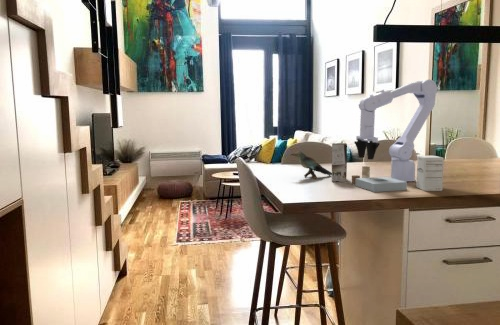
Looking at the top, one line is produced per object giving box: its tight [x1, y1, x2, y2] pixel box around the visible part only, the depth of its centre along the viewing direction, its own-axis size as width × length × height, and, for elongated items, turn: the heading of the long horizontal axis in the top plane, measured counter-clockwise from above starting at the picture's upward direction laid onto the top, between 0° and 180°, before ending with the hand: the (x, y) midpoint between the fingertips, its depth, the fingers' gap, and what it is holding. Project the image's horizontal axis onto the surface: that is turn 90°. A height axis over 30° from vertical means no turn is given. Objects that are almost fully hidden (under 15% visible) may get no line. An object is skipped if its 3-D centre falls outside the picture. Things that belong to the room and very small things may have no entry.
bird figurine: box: [290, 150, 332, 180], centre depth 192 cm, size 13×10×20 cm
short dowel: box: [351, 174, 361, 185], centre depth 173 cm, size 3×3×4 cm
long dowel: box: [361, 165, 371, 178], centre depth 179 cm, size 3×3×6 cm
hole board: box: [354, 176, 408, 193], centre depth 164 cm, size 14×14×3 cm
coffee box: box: [331, 142, 348, 183], centre depth 183 cm, size 9×6×16 cm
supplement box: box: [415, 155, 445, 192], centre depth 160 cm, size 7×7×13 cm
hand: (365, 158), depth 178 cm, fingers open, 7 cm apart
